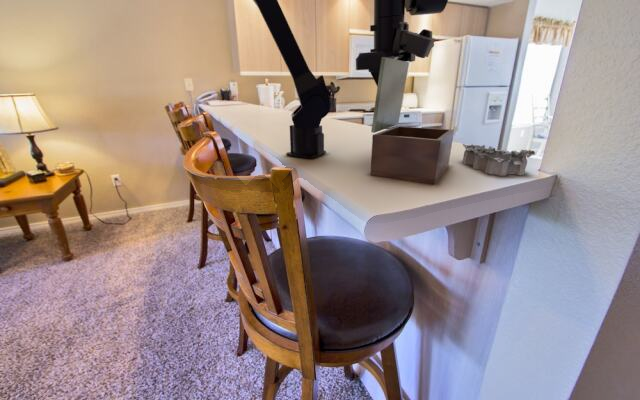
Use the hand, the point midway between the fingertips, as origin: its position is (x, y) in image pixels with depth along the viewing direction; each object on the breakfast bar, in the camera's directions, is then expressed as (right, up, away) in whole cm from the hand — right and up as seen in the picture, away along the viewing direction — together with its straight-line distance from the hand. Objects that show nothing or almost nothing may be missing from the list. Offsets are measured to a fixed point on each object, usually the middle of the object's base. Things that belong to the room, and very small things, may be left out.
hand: (387, 102), depth 63 cm
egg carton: (+17, -15, -10) cm, 25 cm away
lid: (-2, -4, -14) cm, 14 cm away
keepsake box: (+2, -16, -11) cm, 20 cm away
